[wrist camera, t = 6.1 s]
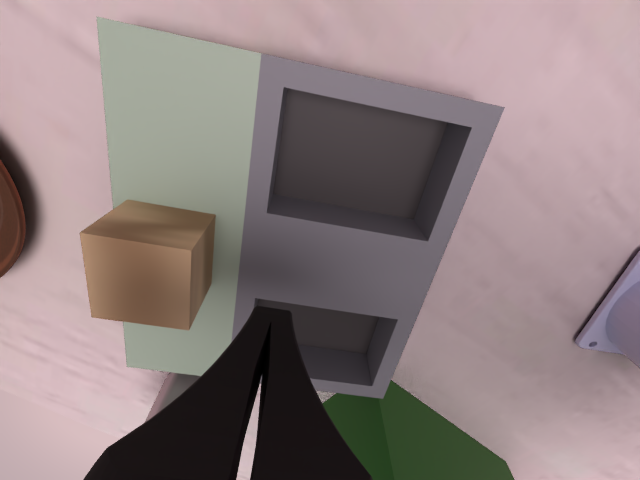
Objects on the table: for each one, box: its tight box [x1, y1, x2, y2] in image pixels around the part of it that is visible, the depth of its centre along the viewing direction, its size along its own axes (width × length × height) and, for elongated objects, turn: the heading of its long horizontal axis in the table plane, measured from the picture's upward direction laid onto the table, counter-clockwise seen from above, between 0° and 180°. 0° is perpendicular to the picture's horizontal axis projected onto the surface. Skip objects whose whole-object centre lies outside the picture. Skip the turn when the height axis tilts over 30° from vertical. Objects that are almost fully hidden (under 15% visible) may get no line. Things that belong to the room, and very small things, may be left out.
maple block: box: [80, 199, 216, 331], centre depth 15 cm, size 4×4×4 cm
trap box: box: [97, 17, 505, 399], centre depth 18 cm, size 16×18×3 cm
